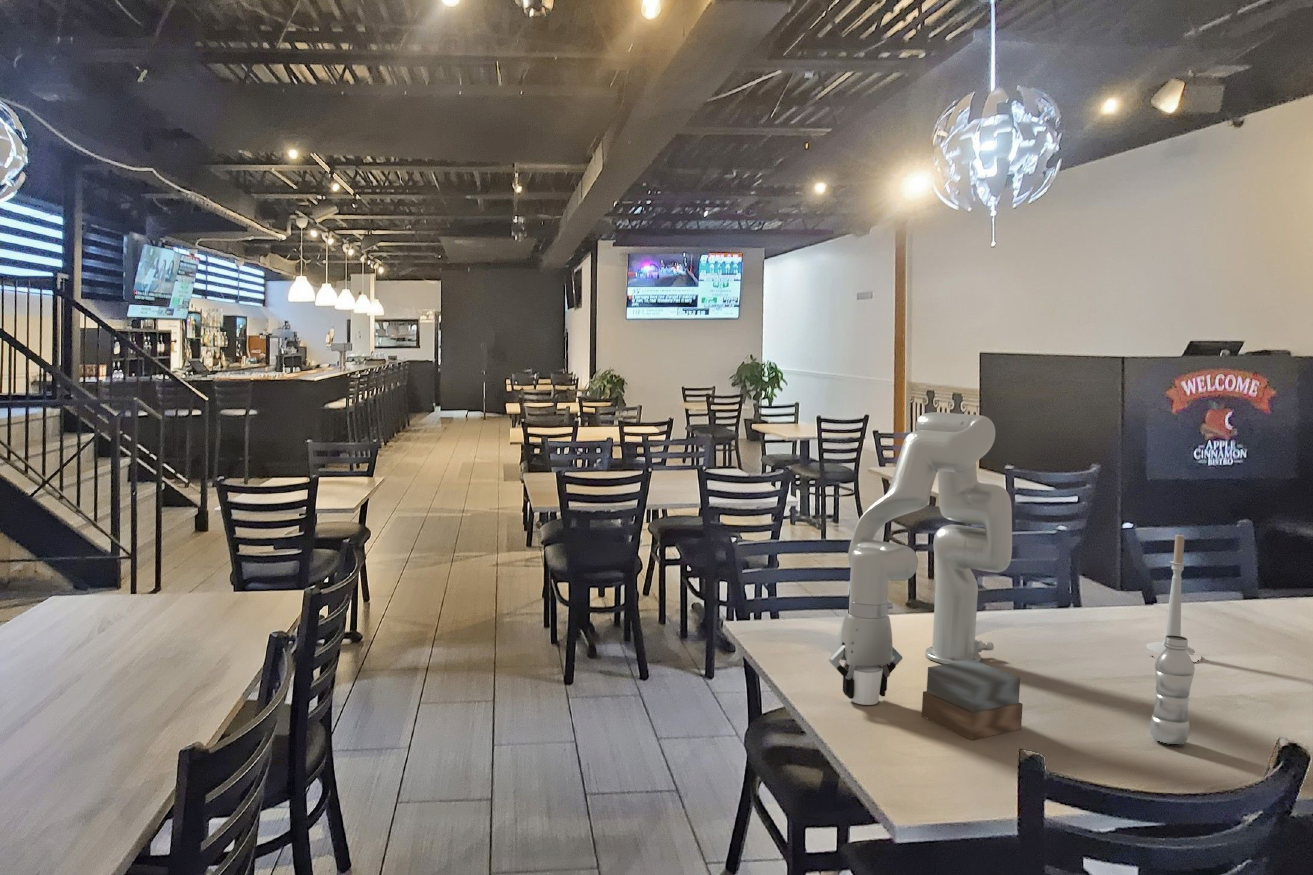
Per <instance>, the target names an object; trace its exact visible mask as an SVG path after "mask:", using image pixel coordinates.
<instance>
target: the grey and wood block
mask: <svg viewBox="0 0 1313 875" xmlns="http://www.w3.org/2000/svg"><path fill="white" fill-rule="evenodd" d="M926 677H927V678H926V679H927V680H926V690H924V691H922V704H921V705H922V706H921V717H922V716H923V717H922V718H924V717H925V718H924V719H926V718H928V719H929V720H928V719H927V720H928V721H930V720H931V721H930V722H932V721H933V723H934V722H935V724H937V725H939V724H940V725H939V726H941V727H943V726H944V727H943V728H945V727H946V728H945V729H947V730H949V729H950V730H949V731H951V730H952V733H953V732H954V733H955V732H956V734H957V733H958V734H957V735H959V736H961V737H964V736H965V738H966V739H968V738H969V739H968V740H970V739H971V740H970V741H973V740H972V739H975V740H978V738H979V739H982V738H983V739H984V738H988V737H992V735H993V736H996V735H1001V734H1000V733H1002V734H1006V733H1011V732H1015V731H1019V730H1022V724H1023V722H1022V720H1023V719H1022V718H1023V708H1024V707H1023V704H1024V703H1021V702H1020V691H1021V690H1020V688H1021V677H1020V676H1016V675H1014V674H1011V673H1009V672H1006V671H1003V670H1001V669H998V668H996V667H993V666H990V665H987V664H985V663H982V662H978V661H975V660H968V661H962V662H956V663H950V664H939V665H934V666H928V667H927V676H926ZM987 736H988V737H987Z"/></svg>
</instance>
